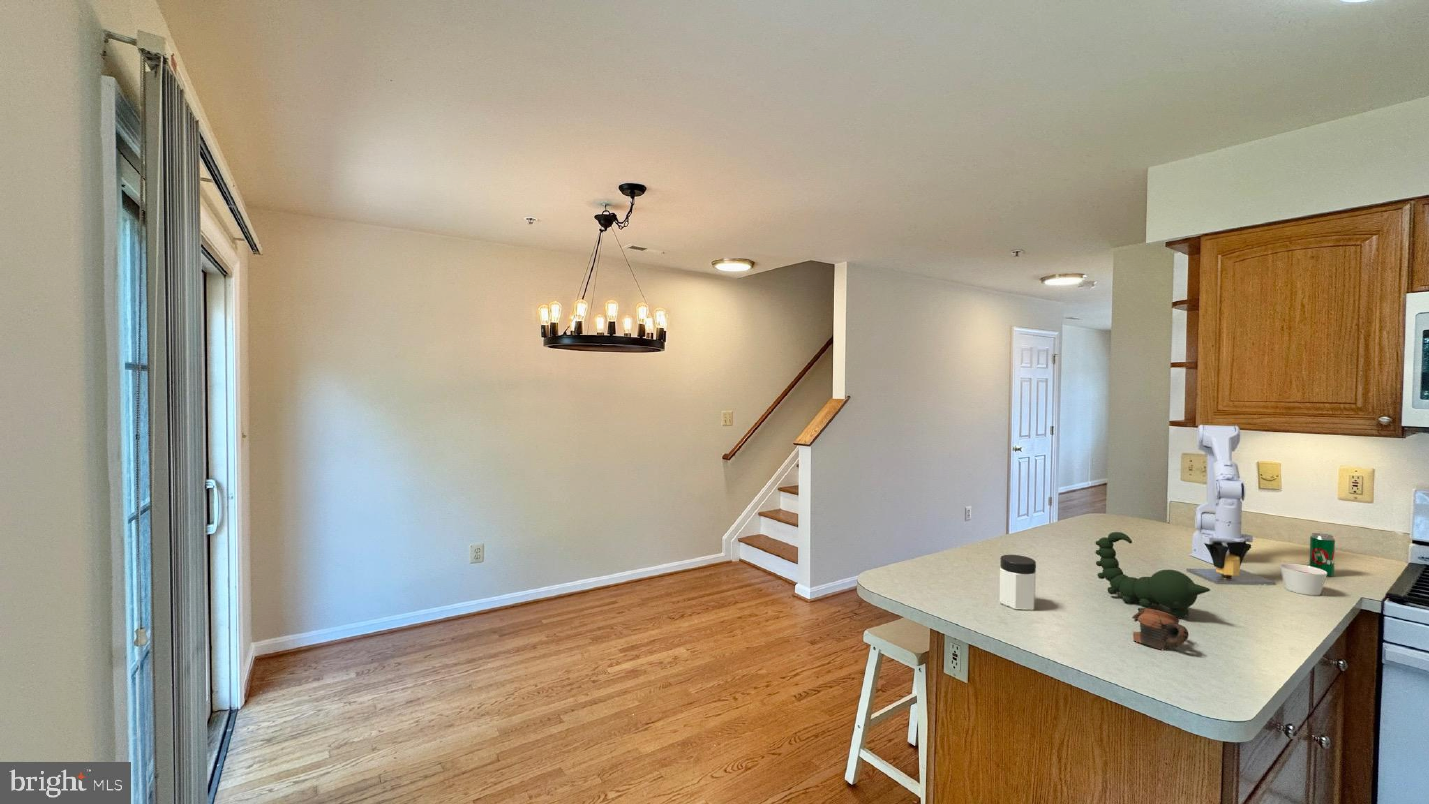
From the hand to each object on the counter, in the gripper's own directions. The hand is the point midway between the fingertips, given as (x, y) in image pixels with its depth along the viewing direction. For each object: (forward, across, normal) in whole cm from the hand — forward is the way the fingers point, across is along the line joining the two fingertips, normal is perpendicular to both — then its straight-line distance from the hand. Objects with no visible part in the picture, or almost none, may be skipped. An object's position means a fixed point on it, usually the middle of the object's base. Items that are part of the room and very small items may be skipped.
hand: (1226, 567), depth 164 cm
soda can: (+4, +32, 0) cm, 33 cm away
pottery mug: (+4, -56, -33) cm, 65 cm away
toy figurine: (+4, -40, -15) cm, 43 cm away
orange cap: (+2, 0, 0) cm, 2 cm away
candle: (+4, +11, -11) cm, 16 cm away
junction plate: (+4, +2, +1) cm, 4 cm away
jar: (+4, -73, -9) cm, 74 cm away
